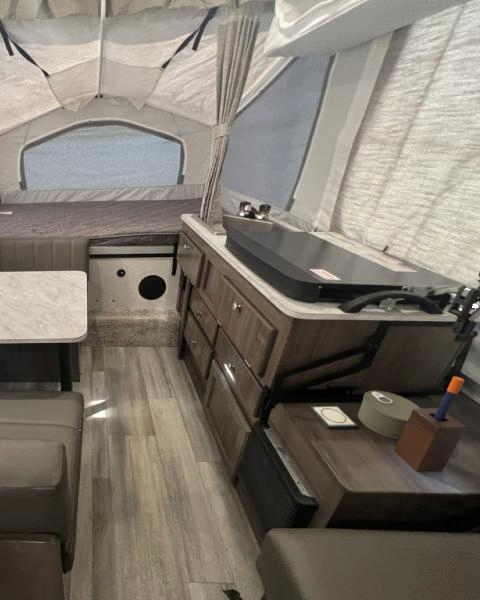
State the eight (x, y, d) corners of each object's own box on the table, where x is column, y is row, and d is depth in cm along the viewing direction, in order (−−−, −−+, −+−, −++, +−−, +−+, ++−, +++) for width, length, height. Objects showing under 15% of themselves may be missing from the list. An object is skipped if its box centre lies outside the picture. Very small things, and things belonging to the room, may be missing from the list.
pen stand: (417, 450, 80) (439, 407, 75) (442, 471, 75) (467, 426, 69) (393, 450, 80) (413, 408, 75) (416, 471, 75) (438, 427, 70)
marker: (435, 429, 74) (462, 377, 68) (438, 434, 73) (466, 381, 67) (426, 427, 75) (451, 375, 69) (429, 431, 73) (455, 379, 68)
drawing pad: (336, 407, 95) (337, 405, 95) (357, 428, 88) (358, 425, 87) (309, 408, 96) (310, 406, 95) (328, 428, 88) (328, 426, 88)
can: (385, 443, 83) (394, 423, 80) (346, 411, 94) (352, 392, 91) (427, 437, 83) (437, 418, 81) (383, 406, 95) (390, 388, 92)
